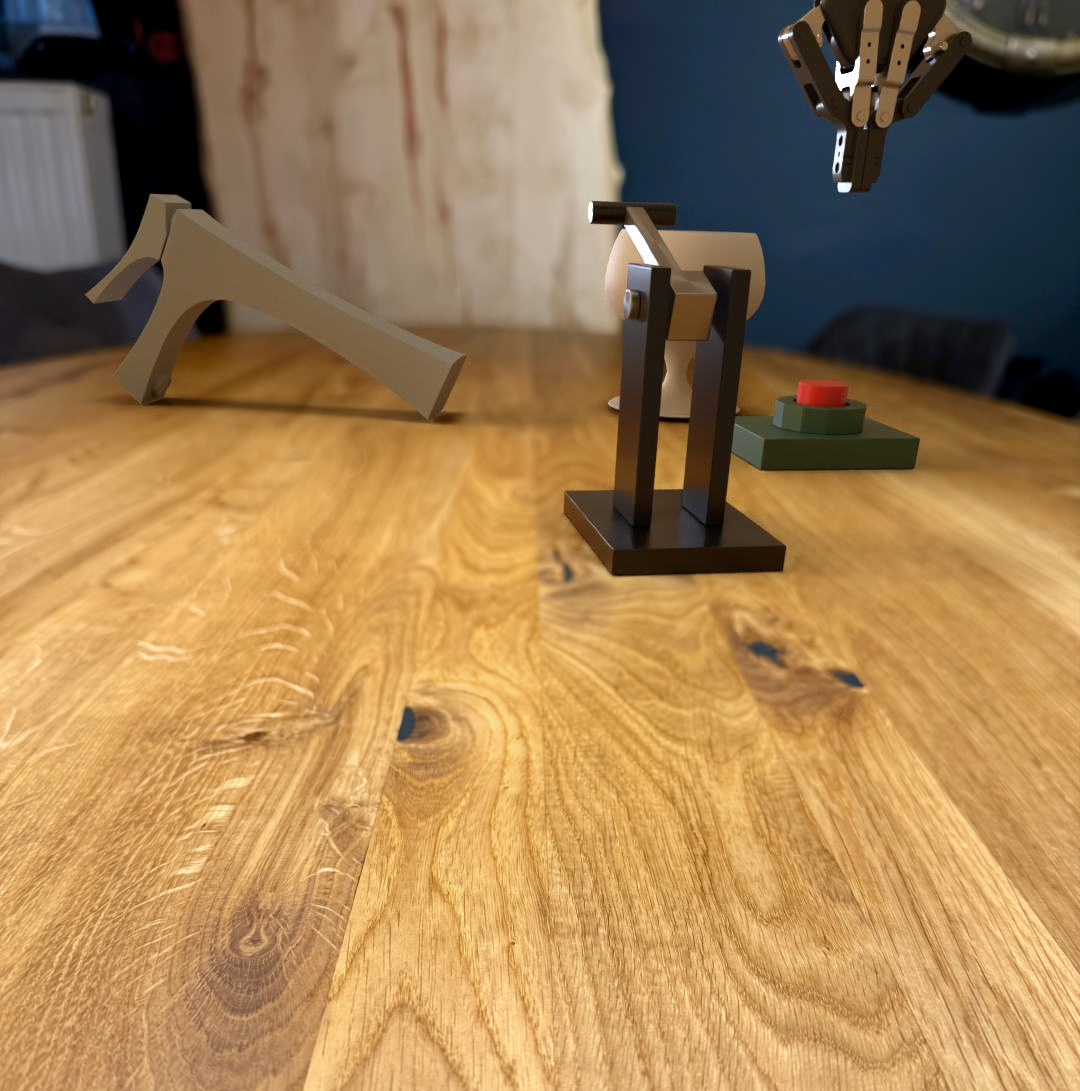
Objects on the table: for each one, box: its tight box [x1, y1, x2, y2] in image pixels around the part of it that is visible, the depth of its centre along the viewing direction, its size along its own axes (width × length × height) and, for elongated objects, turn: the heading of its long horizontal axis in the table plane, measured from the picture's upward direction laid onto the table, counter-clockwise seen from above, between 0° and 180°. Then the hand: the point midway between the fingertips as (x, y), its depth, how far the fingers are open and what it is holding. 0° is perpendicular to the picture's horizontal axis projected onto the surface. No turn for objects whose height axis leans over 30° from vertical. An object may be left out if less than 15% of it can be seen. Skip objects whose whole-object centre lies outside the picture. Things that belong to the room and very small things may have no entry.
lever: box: [587, 200, 718, 341], centre depth 55 cm, size 14×5×2 cm, turn 10°
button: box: [796, 379, 850, 407], centre depth 77 cm, size 4×4×2 cm
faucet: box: [84, 193, 468, 420], centre depth 88 cm, size 6×17×30 cm
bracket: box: [563, 263, 787, 576], centre depth 54 cm, size 12×9×14 cm
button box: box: [731, 394, 921, 471], centre depth 78 cm, size 12×9×4 cm
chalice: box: [604, 228, 766, 419], centre depth 92 cm, size 14×14×15 cm
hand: (853, 191), depth 71 cm, fingers closed
